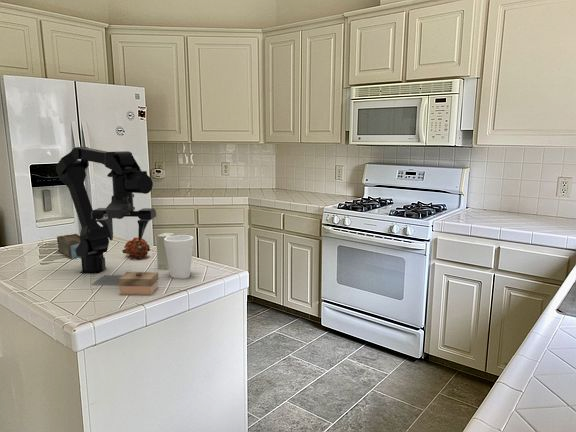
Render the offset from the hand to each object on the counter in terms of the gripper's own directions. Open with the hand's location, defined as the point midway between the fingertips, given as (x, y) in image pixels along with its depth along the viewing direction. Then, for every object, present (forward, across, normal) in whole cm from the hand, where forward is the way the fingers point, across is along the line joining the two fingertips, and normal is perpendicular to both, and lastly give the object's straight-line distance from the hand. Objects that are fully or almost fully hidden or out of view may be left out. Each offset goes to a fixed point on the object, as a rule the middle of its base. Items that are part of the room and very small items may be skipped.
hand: (125, 240), depth 138 cm
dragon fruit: (+13, -7, +27) cm, 31 cm away
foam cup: (+13, +16, +4) cm, 21 cm away
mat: (+13, -3, -2) cm, 13 cm away
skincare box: (+13, +9, +13) cm, 21 cm away
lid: (+10, +8, -12) cm, 17 cm away
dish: (+13, +8, -12) cm, 19 cm away
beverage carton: (+14, -34, +32) cm, 49 cm away
